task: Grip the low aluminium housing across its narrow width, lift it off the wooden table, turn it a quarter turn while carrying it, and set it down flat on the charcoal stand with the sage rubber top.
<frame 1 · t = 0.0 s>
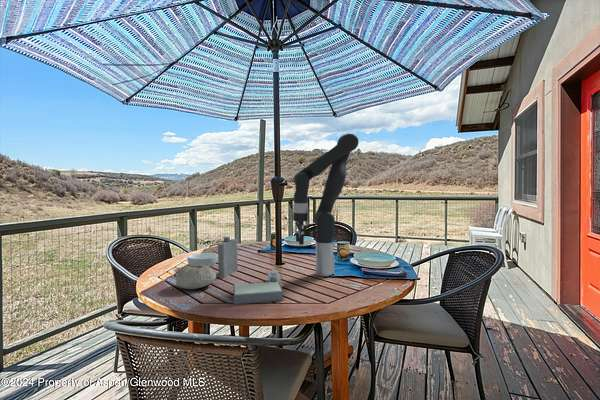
hand: (299, 243, 171), 17 cm above the table, tool pointing down, fingers open, 8 cm apart
stand: (257, 296, 142), on the table
hip flask: (227, 274, 176), on the table
housing: (273, 283, 159), on the table
beige squat rounded piece: (196, 287, 156), on the table
cereal bowl: (203, 267, 190), on the table
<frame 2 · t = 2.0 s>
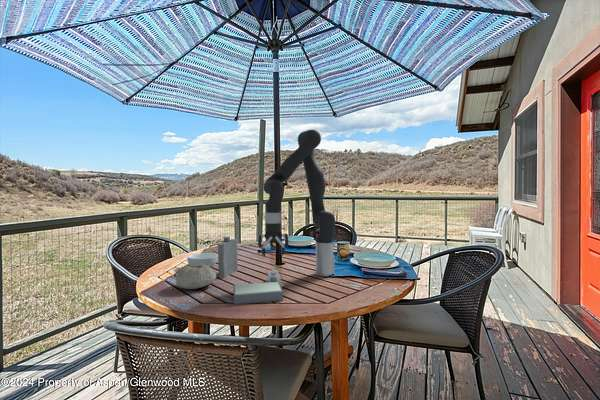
hand: (273, 255, 158), 14 cm above the table, tool pointing down, fingers open, 8 cm apart
nothing on the table moved.
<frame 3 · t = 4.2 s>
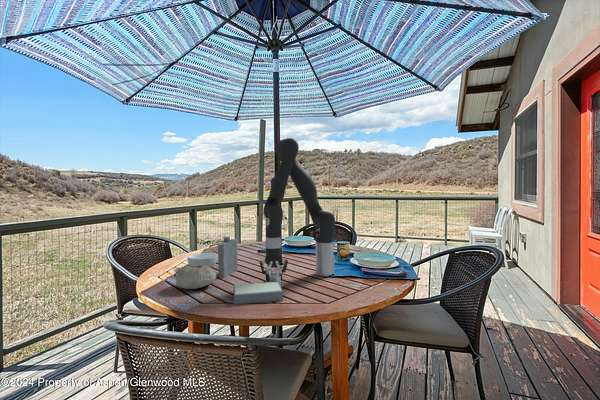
hand: (273, 281, 159), 1 cm above the table, tool pointing down, fingers closed on housing, 5 cm apart
housing: (274, 283, 159), on the table, touching gripper
everything else where it was.
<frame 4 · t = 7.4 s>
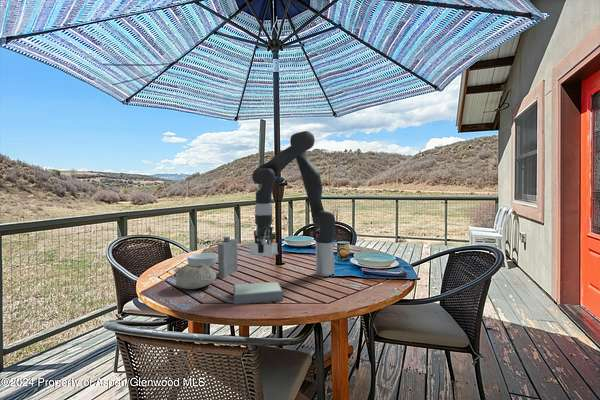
hand: (263, 251, 147), 18 cm above the table, tool pointing down, fingers closed on housing, 5 cm apart
housing: (263, 254, 148), point 17 cm above the table, touching gripper
everything else where it was.
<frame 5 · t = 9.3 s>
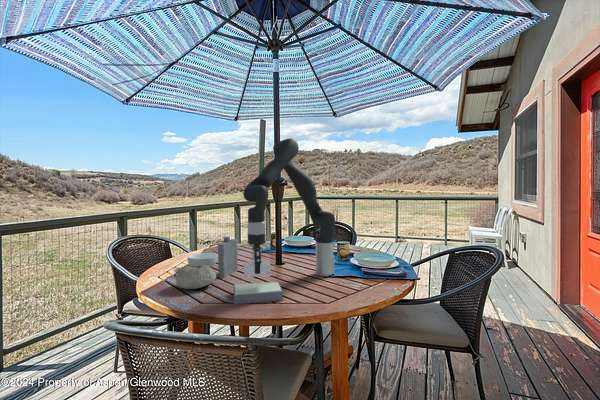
hand: (257, 271, 141), 11 cm above the table, tool pointing down, fingers closed on housing, 5 cm apart
housing: (257, 274, 141), point 10 cm above the table, touching gripper
everything else where it was.
when the fingers open (7 cm above the table, at t = 10.9 s): housing drops 1 cm, resting on stand.
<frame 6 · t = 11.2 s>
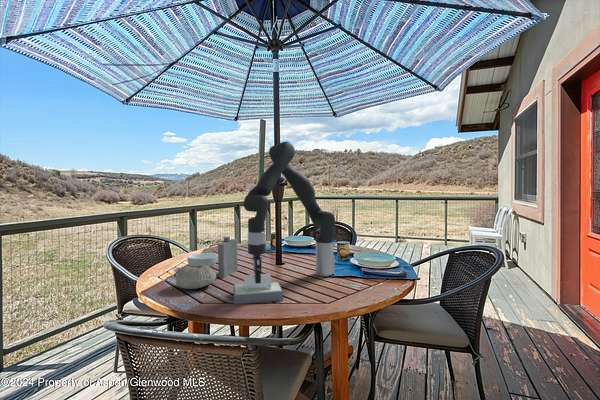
hand: (257, 280, 141), 7 cm above the table, tool pointing down, fingers open, 7 cm apart
housing: (257, 287, 142), point 4 cm above the table, touching stand
everything else where it was.
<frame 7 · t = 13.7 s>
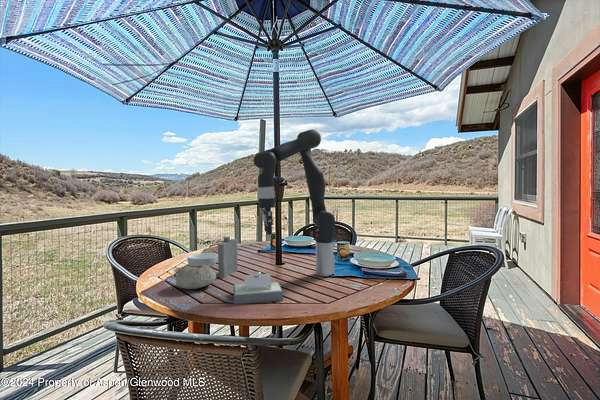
hand: (268, 232, 150), 26 cm above the table, tool pointing down, fingers open, 8 cm apart
nothing on the table moved.
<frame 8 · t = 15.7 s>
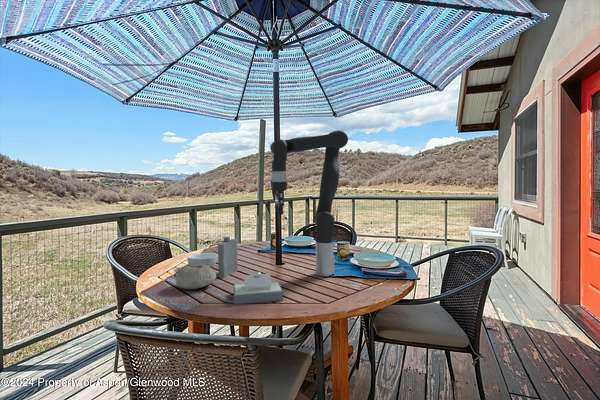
hand: (279, 213, 164), 33 cm above the table, tool pointing down, fingers open, 8 cm apart
nothing on the table moved.
at the end: housing inside the target area on the stand (0.0 cm from its centre), point 4.0 cm above the stand's base; housing tilted 0°; the gripper is holding nothing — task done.
